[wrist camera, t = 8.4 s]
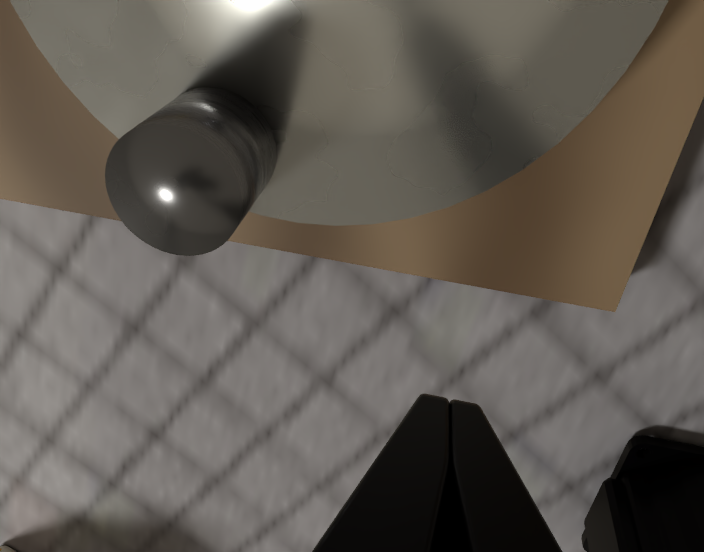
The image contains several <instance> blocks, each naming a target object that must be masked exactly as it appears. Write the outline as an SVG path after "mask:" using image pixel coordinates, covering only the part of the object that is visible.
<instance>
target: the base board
mask: <svg viewBox="0 0 704 552" xmlns="http://www.w3.org/2000/svg"><path fill="white" fill-rule="evenodd" d="M703 98H704V0H668V2H667V4H666V6H665V8H664V10H663V12H662V14H661V16H660V18H659V20H658V22H657V24H656V26H655V28H654V29H653V31H652V32H651V34H650V35H649V37H648V38H647V40H646V41H645V43H644V44H643V46H642V47H641V49H640V50H639V52H638V53H637V55H636V56H635V58H634V59H633V61H632V62H631V64H630V65H629V67H628V69H627V70H626V72H625V73H624V74H623V75H622V76H621V78H620V79H619V80H618V81H617V82H616V84H615V85H614V86H613V87H612V88H611V90H610V91H609V92H608V93H607V94H606V95H605V97H604V98H603V99H602V100H601V101H600V103H599V104H598V105H597V106H596V107H595V109H594V110H593V111H592V112H591V113H590V114H589V115H588V116H587V117H586V118H584V119H583V120H582V121H581V122H580V123H579V124H578V125H577V126H576V127H575V128H574V129H573V130H572V131H571V132H570V133H569V134H568V135H567V136H566V137H564V138H563V139H562V140H561V141H560V142H559V143H558V144H557V145H555V146H554V147H553V148H551V149H550V150H549V151H547V152H546V153H545V154H543V155H542V156H541V157H539V158H538V159H537V160H535V161H534V162H533V163H531V164H530V165H529V166H527V167H526V168H525V169H523V170H522V171H520V172H518V173H516V174H515V175H513V176H511V177H510V178H508V179H506V180H504V181H503V182H501V183H499V184H497V185H496V186H494V187H492V188H490V189H489V190H487V191H485V192H483V193H480V194H478V195H476V196H473V197H471V198H469V199H466V200H464V201H462V202H459V203H457V204H455V205H452V206H450V207H447V208H444V209H440V210H437V211H433V212H430V213H427V214H423V215H420V216H416V217H413V218H408V219H402V220H396V221H390V222H384V223H377V224H367V225H342V226H332V225H320V224H307V223H297V222H292V221H287V220H282V219H277V218H272V217H267V216H262V215H258V214H255V213H252V212H249V211H248V213H247V214H246V216H245V217H244V219H243V220H242V221H241V223H240V224H239V226H238V227H237V229H236V230H235V232H234V233H233V234H232V236H231V237H230V238H229V239H228V240H227V241H233V242H238V243H244V244H249V245H254V246H260V247H265V248H271V249H276V250H281V251H287V252H292V253H298V254H303V255H309V256H314V257H319V258H325V259H330V260H336V261H341V262H347V263H352V264H357V265H363V266H368V267H374V268H379V269H384V270H390V271H395V272H401V273H406V274H412V275H417V276H422V277H428V278H433V279H439V280H444V281H449V282H455V283H460V284H466V285H471V286H477V287H482V288H487V289H493V290H498V291H504V292H509V293H515V294H520V295H525V296H531V297H536V298H542V299H547V300H552V301H558V302H563V303H569V304H574V305H580V306H585V307H590V308H596V309H601V310H607V311H612V312H615V311H616V309H617V306H618V304H619V301H620V299H621V296H622V294H623V292H624V289H625V287H626V284H627V282H628V279H629V277H630V275H631V272H632V270H633V267H634V265H635V262H636V260H637V258H638V255H639V253H640V250H641V248H642V245H643V243H644V241H645V238H646V236H647V233H648V231H649V228H650V226H651V224H652V221H653V219H654V216H655V214H656V212H657V209H658V207H659V204H660V202H661V199H662V197H663V195H664V192H665V190H666V187H667V185H668V182H669V180H670V178H671V175H672V173H673V170H674V168H675V165H676V163H677V161H678V158H679V156H680V153H681V151H682V148H683V146H684V144H685V141H686V139H687V136H688V134H689V132H690V129H691V127H692V124H693V122H694V119H695V117H696V115H697V112H698V110H699V107H700V105H701V102H702V100H703ZM118 140H119V139H118V138H117V137H116V136H115V135H114V134H113V133H112V132H111V131H109V130H108V129H107V128H106V127H105V126H104V125H103V124H102V123H101V122H100V121H98V120H97V119H96V118H95V117H94V116H93V115H92V114H91V113H90V112H89V110H88V109H87V108H86V107H85V106H84V105H83V104H82V103H81V102H80V100H79V99H78V98H77V97H76V96H75V95H74V94H73V93H72V92H71V90H70V89H69V88H68V87H67V86H66V85H65V84H64V83H63V81H62V80H61V78H60V77H59V76H58V74H57V73H56V72H55V70H54V69H53V68H52V66H51V65H50V64H49V62H48V61H47V59H46V58H45V57H44V55H43V54H42V53H41V51H40V50H39V49H38V47H37V46H36V44H35V42H34V41H33V39H32V37H31V36H30V34H29V32H28V31H27V29H26V27H25V26H24V24H23V22H22V21H21V19H20V17H19V16H18V14H17V12H16V11H15V9H14V7H13V6H12V4H11V2H10V0H0V199H5V200H10V201H16V202H21V203H27V204H32V205H38V206H43V207H48V208H54V209H59V210H65V211H70V212H75V213H81V214H86V215H92V216H97V217H103V218H108V219H113V220H119V221H121V219H120V218H119V217H118V215H117V213H116V212H115V210H114V208H113V206H112V204H111V202H110V199H109V196H108V193H107V189H106V184H105V167H106V162H107V158H108V156H109V153H110V151H111V149H112V148H113V146H114V145H115V143H116V142H117V141H118Z"/></svg>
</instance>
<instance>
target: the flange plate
mask: <svg viewBox="0 0 704 552" xmlns="http://www.w3.org/2000/svg"><path fill="white" fill-rule="evenodd" d="M10 2H11V4H12V6H13V7H14V9H15V11H16V12H17V14H18V16H19V17H20V19H21V21H22V22H23V24H24V26H25V27H26V29H27V31H28V32H29V34H30V36H31V37H32V39H33V41H34V42H35V44H36V46H37V47H38V49H39V50H40V51H41V53H42V54H43V55H44V57H45V58H46V59H47V61H48V62H49V64H50V65H51V66H52V68H53V69H54V70H55V72H56V73H57V74H58V76H59V77H60V78H61V80H62V81H63V83H64V84H65V85H66V86H67V87H68V88H69V89H70V90H71V92H72V93H73V94H74V95H75V96H76V97H77V98H78V99H79V100H80V102H81V103H82V104H83V105H84V106H85V107H86V108H87V109H88V110H89V112H90V113H91V114H92V115H93V116H94V117H95V118H96V119H97V120H98V121H100V122H101V123H102V124H103V125H104V126H105V127H106V128H107V129H108V130H109V131H111V132H112V133H113V134H114V135H115V136H116V137H117V138H118V139H119V140H118V141H117V142H116V143H115V145H114V146H113V148H112V149H111V151H110V153H109V156H108V158H107V162H106V167H105V184H106V189H107V193H108V196H109V199H110V202H111V204H112V206H113V208H114V210H115V212H116V213H117V215H118V217H119V218H120V219H121V221H122V222H123V223H124V224H125V226H126V227H127V228H128V229H129V230H130V231H131V232H132V233H134V234H135V235H136V236H137V237H138V238H140V239H141V240H142V241H144V242H145V243H147V244H149V245H151V246H152V247H154V248H157V249H159V250H161V251H164V252H167V253H171V254H176V255H184V256H192V255H200V254H205V253H208V252H211V251H213V250H215V249H217V248H218V247H220V246H221V245H223V244H224V243H225V242H226V241H227V240H228V239H229V238H230V237H231V236H232V234H233V233H234V232H235V230H236V229H237V227H238V226H239V224H240V223H241V221H242V220H243V219H244V217H245V216H246V214H247V213H248V211H249V212H252V213H255V214H258V215H262V216H267V217H272V218H277V219H282V220H287V221H292V222H297V223H307V224H320V225H332V226H342V225H367V224H377V223H384V222H390V221H396V220H402V219H408V218H413V217H416V216H420V215H423V214H427V213H430V212H433V211H437V210H440V209H444V208H447V207H450V206H452V205H455V204H457V203H459V202H462V201H464V200H466V199H469V198H471V197H473V196H476V195H478V194H480V193H483V192H485V191H487V190H489V189H490V188H492V187H494V186H496V185H497V184H499V183H501V182H503V181H504V180H506V179H508V178H510V177H511V176H513V175H515V174H516V173H518V172H520V171H522V170H523V169H525V168H526V167H527V166H529V165H530V164H531V163H533V162H534V161H535V160H537V159H538V158H539V157H541V156H542V155H543V154H545V153H546V152H547V151H549V150H550V149H551V148H553V147H554V146H555V145H557V144H558V143H559V142H560V141H561V140H562V139H563V138H564V137H566V136H567V135H568V134H569V133H570V132H571V131H572V130H573V129H574V128H575V127H576V126H577V125H578V124H579V123H580V122H581V121H582V120H583V119H584V118H586V117H587V116H588V115H589V114H590V113H591V112H592V111H593V110H594V109H595V107H596V106H597V105H598V104H599V103H600V101H601V100H602V99H603V98H604V97H605V95H606V94H607V93H608V92H609V91H610V90H611V88H612V87H613V86H614V85H615V84H616V82H617V81H618V80H619V79H620V78H621V76H622V75H623V74H624V73H625V72H626V70H627V69H628V67H629V65H630V64H631V62H632V61H633V59H634V58H635V56H636V55H637V53H638V52H639V50H640V49H641V47H642V46H643V44H644V43H645V41H646V40H647V38H648V37H649V35H650V34H651V32H652V31H653V29H654V28H655V26H656V24H657V22H658V20H659V18H660V16H661V14H662V12H663V10H664V8H665V6H666V4H667V2H668V0H10Z"/></svg>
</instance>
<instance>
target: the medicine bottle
mask: <svg viewBox="0 0 704 552" xmlns="http://www.w3.org/2000/svg"><path fill="white" fill-rule="evenodd" d="M0 552H17V551H15V550H13V549H11V548H10V547H8V546H5V545H4V546H0Z"/></svg>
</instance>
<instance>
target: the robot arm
mask: <svg viewBox="0 0 704 552" xmlns="http://www.w3.org/2000/svg"><path fill="white" fill-rule="evenodd" d="M639 449H645V450H639ZM584 524H585V530H584V532H583V534H582V545H583V548H584V550H585V551H587V552H704V447H699V446H694V445H689V444H684V443H679V442H674V441H669V440H664V439H659V438H654V437H649V436H636V437H633V438H632V439H630V440H629V441H628V443H627V445H626V447H625V449H624V451H623V453H622V455H621V457H620V459H619V461H618V463H617V465H616V467H615V469H614V471H613V473H612V475H611V477H610V478H608V479H606V480H605V481H604V482H603V483H602V485H601V487H600V489H599V492H598V494H597V496H596V498H595V500H594V502H593V504H592V506H591V508H590V510H589V512H588V514H587V516H586V518H585V521H584ZM312 552H562V550H561V548H560V547H559V545H558V543H557V541H556V540H555V538H554V536H553V534H552V533H551V531H550V529H549V527H548V525H547V524H546V522H545V520H544V518H543V517H542V515H541V513H540V511H539V510H538V508H537V506H536V504H535V503H534V501H533V499H532V497H531V496H530V494H529V492H528V490H527V488H526V487H525V485H524V483H523V481H522V480H521V478H520V476H519V474H518V473H517V471H516V469H515V467H514V466H513V464H512V462H511V460H510V458H509V457H508V455H507V453H506V451H505V450H504V448H503V446H502V444H501V443H500V441H499V439H498V437H497V436H496V434H495V432H494V430H493V428H492V427H491V425H490V423H489V421H488V420H487V418H486V416H485V414H484V413H483V411H482V409H481V408H480V406H479V405H477V404H475V403H470V402H465V401H460V400H451V401H450V402H449V401H448V399H446V398H444V397H439V396H434V395H429V394H421V395H420V396H419V397H418V398H417V400H416V401H415V403H414V404H413V406H412V407H411V409H410V410H409V411H408V413H407V414H406V416H405V417H404V419H403V420H402V422H401V423H400V425H399V426H398V427H397V429H396V430H395V432H394V433H393V435H392V436H391V438H390V439H389V441H388V442H387V443H386V445H385V446H384V448H383V449H382V451H381V452H380V454H379V455H378V457H377V458H376V459H375V461H374V462H373V464H372V465H371V467H370V468H369V470H368V471H367V473H366V474H365V475H364V477H363V478H362V480H361V481H360V483H359V484H358V486H357V487H356V489H355V490H354V491H353V493H352V494H351V496H350V497H349V499H348V500H347V502H346V503H345V505H344V506H343V507H342V509H341V510H340V512H339V513H338V515H337V516H336V518H335V519H334V521H333V522H332V523H331V525H330V526H329V528H328V529H327V531H326V532H325V534H324V535H323V537H322V538H321V539H320V541H319V542H318V544H317V545H316V547H315V548H314V550H313V551H312Z"/></svg>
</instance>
